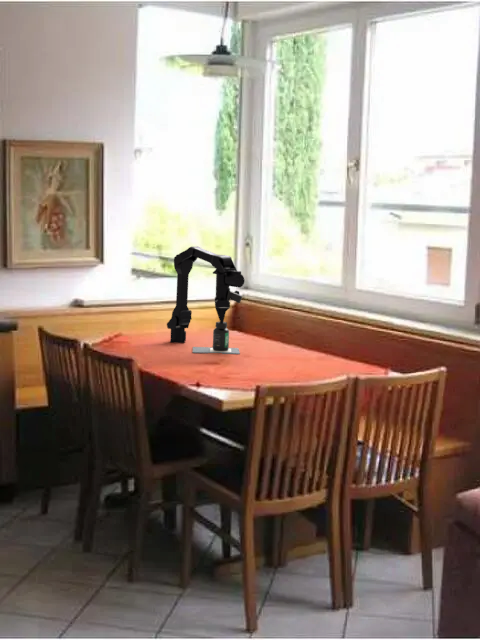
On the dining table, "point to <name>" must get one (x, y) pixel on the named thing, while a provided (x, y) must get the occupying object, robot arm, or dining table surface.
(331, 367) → the dining table surface
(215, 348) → the supplement bottle
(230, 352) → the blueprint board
